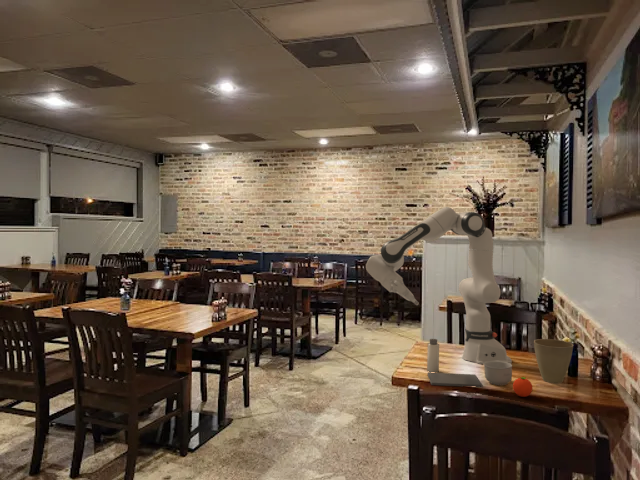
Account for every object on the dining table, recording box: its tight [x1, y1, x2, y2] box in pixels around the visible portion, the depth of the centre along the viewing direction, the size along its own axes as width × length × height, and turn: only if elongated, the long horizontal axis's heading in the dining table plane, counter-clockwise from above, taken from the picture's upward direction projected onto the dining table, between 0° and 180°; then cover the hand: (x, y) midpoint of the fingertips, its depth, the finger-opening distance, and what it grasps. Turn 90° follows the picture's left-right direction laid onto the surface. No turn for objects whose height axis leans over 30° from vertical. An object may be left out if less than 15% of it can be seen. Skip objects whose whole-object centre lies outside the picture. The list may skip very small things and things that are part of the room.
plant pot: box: [533, 338, 574, 384], centre depth 204 cm, size 15×15×16 cm
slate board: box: [427, 371, 484, 388], centre depth 203 cm, size 20×14×1 cm
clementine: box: [512, 376, 534, 398], centre depth 185 cm, size 8×7×7 cm
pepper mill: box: [426, 338, 440, 373], centre depth 216 cm, size 5×5×14 cm
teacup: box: [483, 360, 513, 386], centre depth 202 cm, size 14×11×8 cm
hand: (416, 302), depth 221 cm, fingers open, 8 cm apart
